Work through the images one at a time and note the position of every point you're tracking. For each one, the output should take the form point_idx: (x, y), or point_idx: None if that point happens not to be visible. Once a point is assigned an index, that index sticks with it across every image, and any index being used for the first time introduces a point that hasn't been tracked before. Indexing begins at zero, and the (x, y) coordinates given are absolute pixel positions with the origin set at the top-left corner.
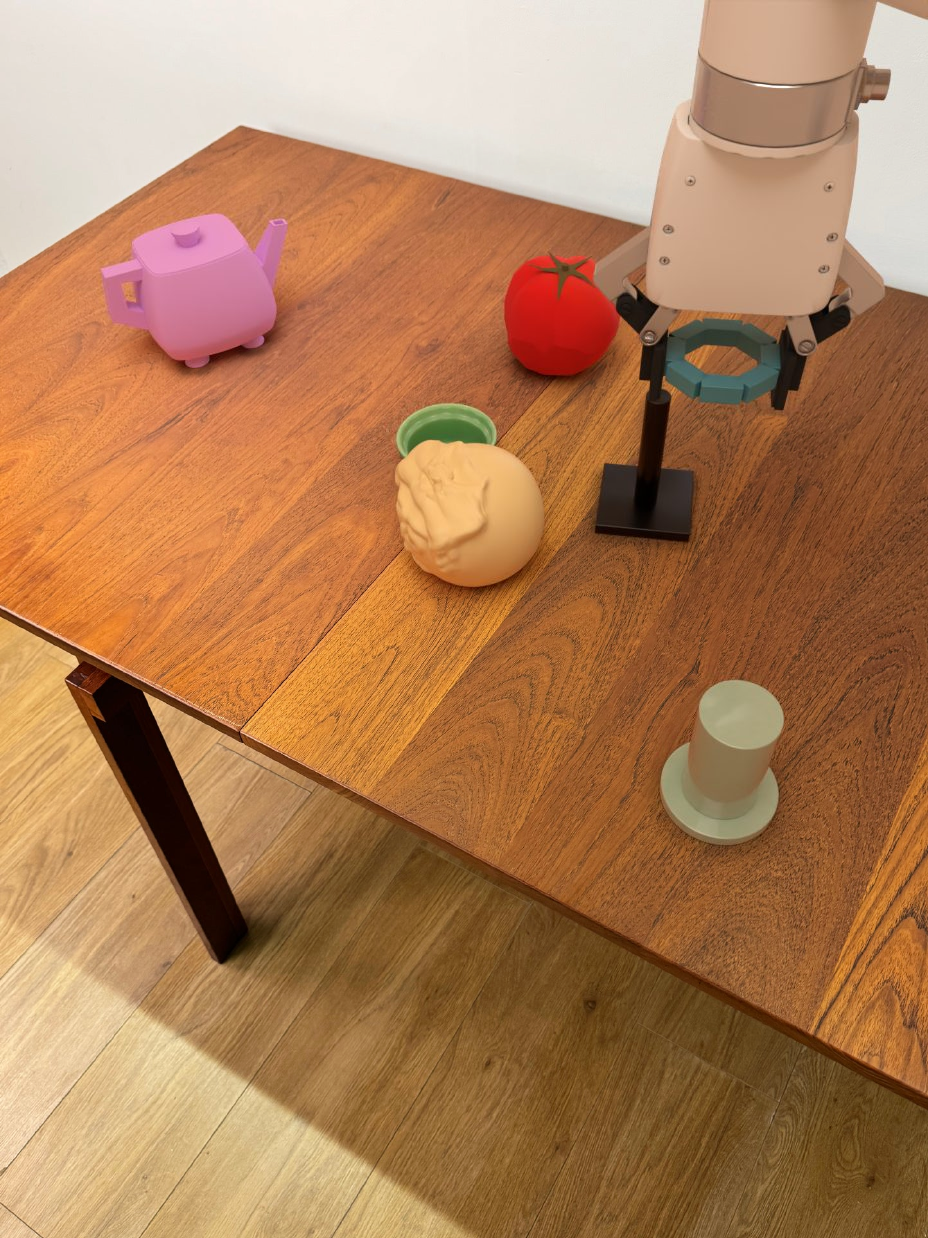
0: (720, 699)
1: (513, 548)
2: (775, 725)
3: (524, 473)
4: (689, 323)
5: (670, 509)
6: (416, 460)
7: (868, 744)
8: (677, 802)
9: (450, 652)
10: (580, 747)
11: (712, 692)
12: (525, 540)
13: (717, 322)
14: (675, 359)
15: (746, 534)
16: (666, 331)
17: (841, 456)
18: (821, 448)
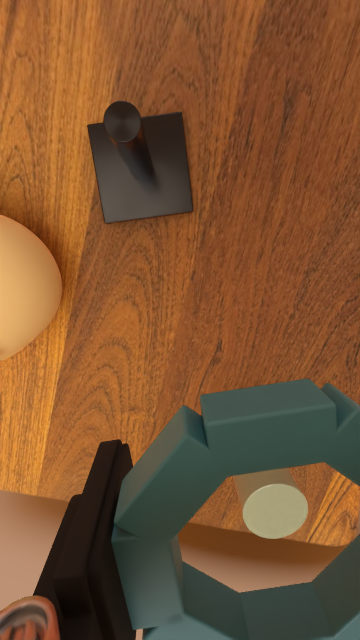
0: (258, 505)
1: (40, 330)
2: (302, 515)
3: (5, 268)
4: (165, 468)
5: (169, 181)
6: None
7: (341, 376)
8: None
9: (37, 383)
10: (154, 430)
11: (251, 501)
12: (47, 318)
13: (254, 437)
14: (159, 624)
15: (243, 186)
16: (105, 619)
17: (331, 29)
18: (310, 20)
